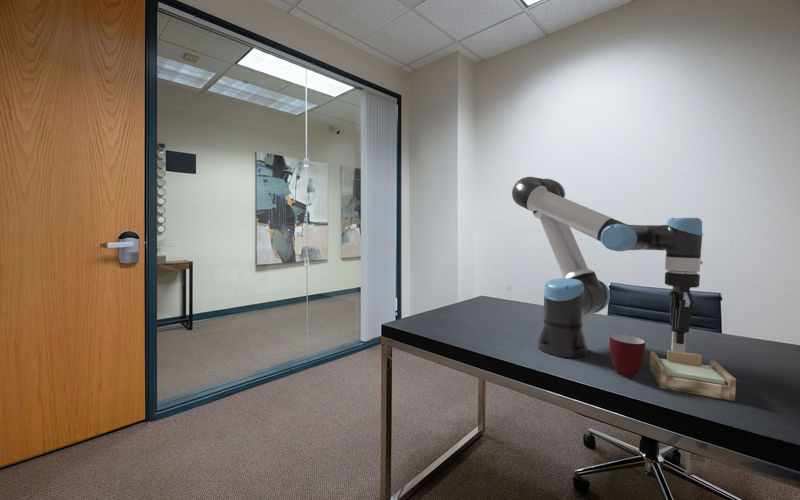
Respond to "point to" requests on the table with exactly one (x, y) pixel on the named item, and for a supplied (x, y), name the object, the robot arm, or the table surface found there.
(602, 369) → the table surface
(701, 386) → the birch box
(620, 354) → the mug
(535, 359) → the table surface
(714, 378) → the lid
